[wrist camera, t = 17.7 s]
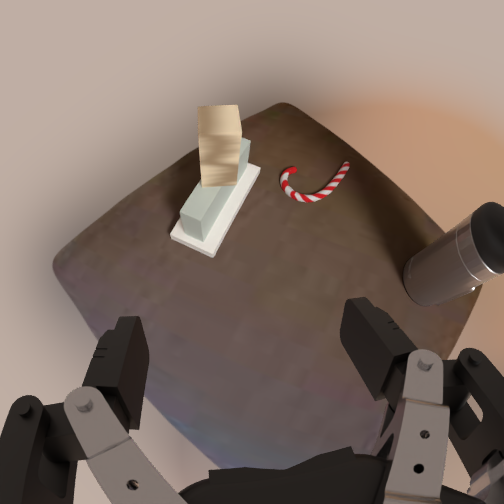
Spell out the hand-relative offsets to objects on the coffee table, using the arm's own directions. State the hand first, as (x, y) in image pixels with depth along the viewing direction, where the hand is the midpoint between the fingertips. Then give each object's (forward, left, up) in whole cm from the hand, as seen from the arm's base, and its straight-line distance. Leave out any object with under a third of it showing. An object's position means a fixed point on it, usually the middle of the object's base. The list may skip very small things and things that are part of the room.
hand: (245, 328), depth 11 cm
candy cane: (-2, -33, -29) cm, 44 cm away
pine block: (+11, -20, -21) cm, 31 cm away
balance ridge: (+11, -20, -29) cm, 37 cm away
